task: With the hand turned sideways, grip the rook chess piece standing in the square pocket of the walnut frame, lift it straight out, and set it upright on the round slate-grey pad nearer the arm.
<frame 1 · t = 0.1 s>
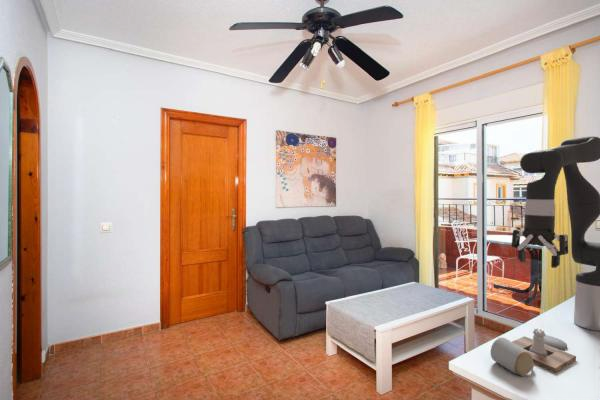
hand: (537, 264, 94), 29 cm above the table, tool pointing down, fingers open, 8 cm apart
ceramic mug: (513, 368, 88), on the table
walnut frame: (538, 354, 95), on the table
rook chess piece: (538, 355, 95), resting in walnut frame
slate-grey pad: (549, 342, 103), on the table
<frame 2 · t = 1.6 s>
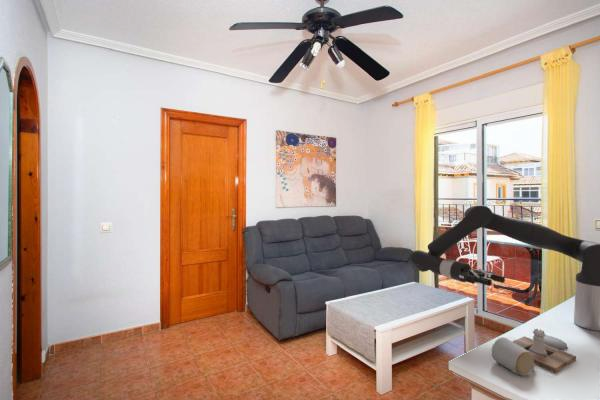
hand: (497, 281, 105), 20 cm above the table, tool horizontal, fingers open, 8 cm apart
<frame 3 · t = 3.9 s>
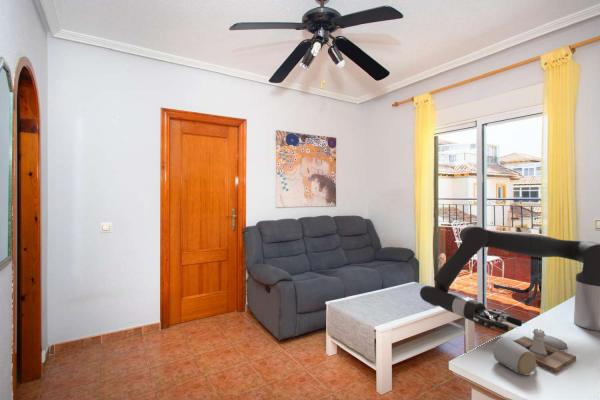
hand: (514, 326, 101), 6 cm above the table, tool horizontal, fingers open, 8 cm apart
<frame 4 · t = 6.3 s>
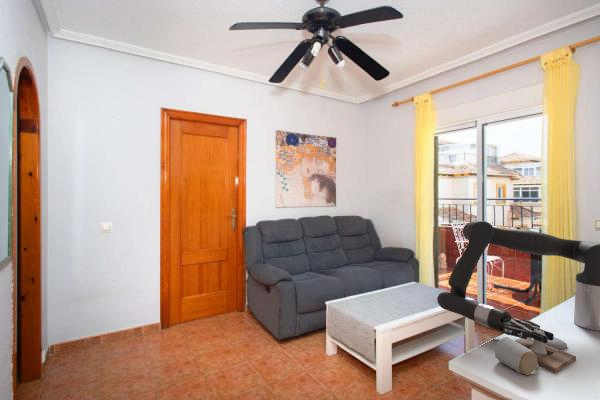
hand: (549, 338, 92), 7 cm above the table, tool horizontal, fingers closed on rook chess piece, 3 cm apart
rook chess piece: (538, 355, 95), resting in walnut frame, touching gripper
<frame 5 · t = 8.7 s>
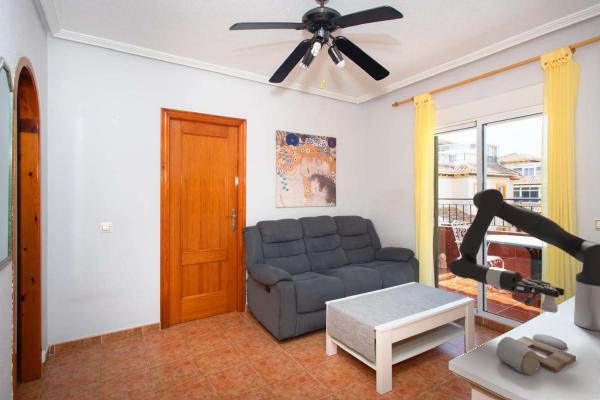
hand: (560, 293, 96), 19 cm above the table, tool horizontal, fingers closed on rook chess piece, 3 cm apart
rook chess piece: (549, 310, 99), point 13 cm above the table, touching gripper
when the fingers open (8 cm above the table, at t = 11.5 s): rook chess piece stays where it is, resting on slate-grey pad.
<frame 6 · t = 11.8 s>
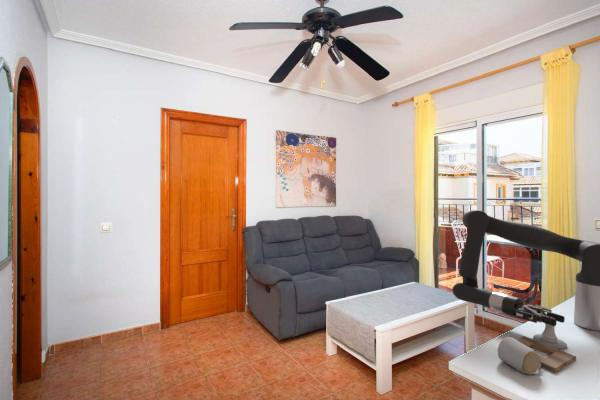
hand: (559, 321, 100), 9 cm above the table, tool horizontal, fingers open, 5 cm apart
rook chess piece: (549, 340, 103), point 1 cm above the table, touching slate-grey pad
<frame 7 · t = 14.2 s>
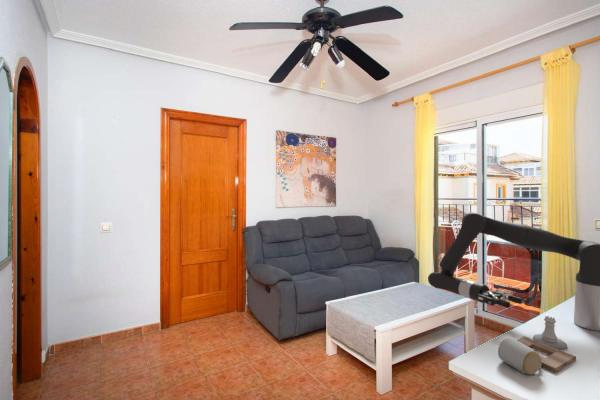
hand: (515, 303, 112), 10 cm above the table, tool horizontal, fingers open, 8 cm apart
ceramic mug: (521, 367, 88), on the table, touching walnut frame
everything else where it was.
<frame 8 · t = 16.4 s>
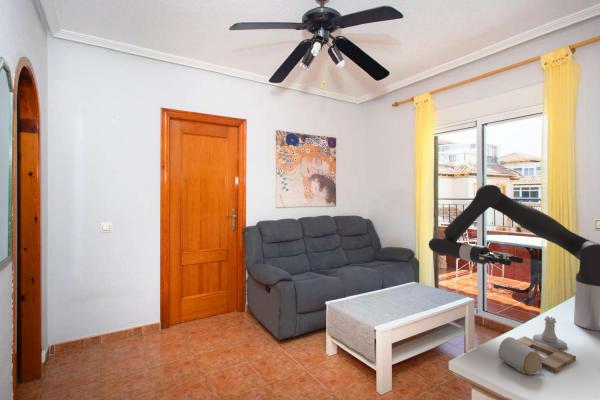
hand: (516, 261, 112), 26 cm above the table, tool horizontal, fingers open, 8 cm apart
ceramic mug: (521, 367, 88), on the table
everything else where it was.
at the end: rook chess piece 0.1 cm off-centre on the slate-grey pad, point 0.6 cm above the slate-grey pad's base; rook chess piece tilted 0°; the gripper is holding nothing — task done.
